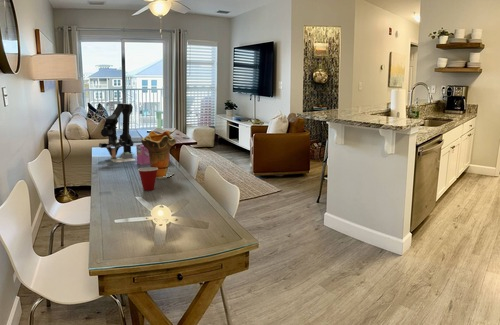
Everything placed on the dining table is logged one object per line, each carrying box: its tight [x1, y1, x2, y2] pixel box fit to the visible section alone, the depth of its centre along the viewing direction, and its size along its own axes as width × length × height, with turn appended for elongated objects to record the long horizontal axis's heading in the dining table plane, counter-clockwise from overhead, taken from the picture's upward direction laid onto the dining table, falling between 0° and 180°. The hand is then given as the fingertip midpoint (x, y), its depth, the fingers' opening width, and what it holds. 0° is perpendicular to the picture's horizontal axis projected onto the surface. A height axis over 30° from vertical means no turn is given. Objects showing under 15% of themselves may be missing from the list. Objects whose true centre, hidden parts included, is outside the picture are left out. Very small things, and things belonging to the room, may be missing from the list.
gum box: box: [136, 143, 171, 166], centre depth 285 cm, size 24×8×14 cm, turn 134°
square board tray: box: [108, 152, 137, 164], centre depth 290 cm, size 16×16×4 cm
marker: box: [110, 147, 117, 159], centre depth 296 cm, size 3×3×8 cm
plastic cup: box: [137, 166, 158, 192], centre depth 217 cm, size 11×11×12 cm
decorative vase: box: [141, 130, 177, 180], centre depth 246 cm, size 21×23×28 cm
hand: (113, 155), depth 296 cm, fingers closed on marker, 3 cm apart
